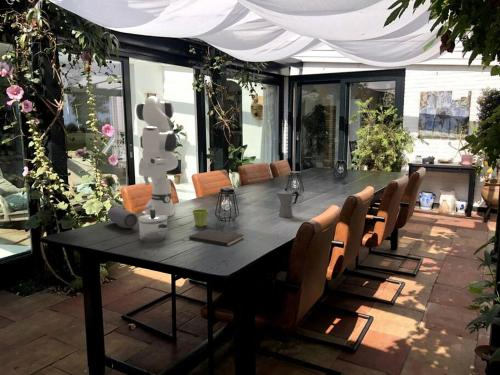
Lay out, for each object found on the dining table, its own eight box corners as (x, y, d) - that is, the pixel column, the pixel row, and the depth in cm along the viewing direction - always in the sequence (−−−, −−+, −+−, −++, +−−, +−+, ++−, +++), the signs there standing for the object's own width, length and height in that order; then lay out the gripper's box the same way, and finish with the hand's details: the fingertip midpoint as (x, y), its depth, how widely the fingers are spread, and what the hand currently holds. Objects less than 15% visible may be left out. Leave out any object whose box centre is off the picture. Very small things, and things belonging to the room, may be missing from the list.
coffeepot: (278, 218, 253) (278, 189, 250) (273, 214, 262) (273, 187, 259) (301, 216, 257) (301, 188, 254) (295, 213, 266) (295, 186, 263)
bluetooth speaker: (139, 228, 228) (138, 211, 226) (123, 231, 222) (122, 213, 220) (122, 221, 245) (121, 205, 243) (106, 223, 239) (105, 207, 237)
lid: (133, 218, 209) (132, 209, 208) (158, 214, 219) (158, 205, 218) (147, 223, 198) (146, 214, 198) (172, 219, 208) (172, 210, 207)
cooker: (130, 236, 212) (129, 217, 210) (154, 231, 222) (153, 213, 221) (153, 244, 198) (152, 224, 196) (177, 238, 208) (176, 219, 207)
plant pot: (193, 227, 229) (193, 212, 228) (191, 223, 238) (191, 209, 237) (210, 226, 232) (209, 212, 230) (207, 222, 241) (207, 208, 239)
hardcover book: (207, 233, 221) (207, 229, 220) (243, 239, 210) (243, 234, 209) (189, 240, 207) (189, 236, 207) (227, 247, 196) (227, 242, 196)
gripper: (135, 157, 209) (136, 184, 212) (157, 161, 195) (158, 189, 198) (145, 157, 214) (146, 182, 216) (168, 160, 200) (169, 187, 202)
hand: (152, 186), depth 207 cm, fingers open, 8 cm apart
